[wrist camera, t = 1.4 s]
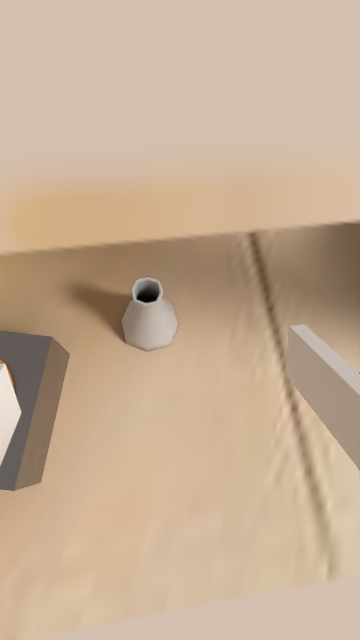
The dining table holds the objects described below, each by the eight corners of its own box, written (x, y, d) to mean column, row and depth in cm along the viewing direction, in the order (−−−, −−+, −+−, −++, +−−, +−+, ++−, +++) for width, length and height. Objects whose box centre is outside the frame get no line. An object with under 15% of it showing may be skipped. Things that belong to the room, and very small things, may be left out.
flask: (123, 295, 44) (113, 255, 35) (180, 299, 44) (185, 260, 35) (117, 350, 42) (105, 323, 32) (177, 353, 42) (182, 328, 32)
